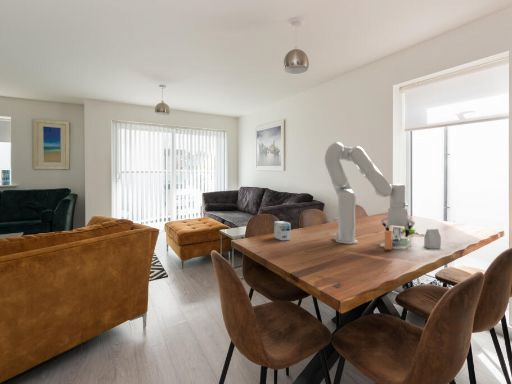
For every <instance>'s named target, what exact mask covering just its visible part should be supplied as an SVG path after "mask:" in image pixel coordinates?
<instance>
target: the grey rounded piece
mask: <svg viewBox="0 0 512 384" xmlns="http://www.w3.org/2000/svg"><path fill="white" fill-rule="evenodd" d="M401 228H402V227H401V226H393V227H392V231H393V241H397V242H398V240H399V241H401V238H402V236H401V232H402V229H401Z"/></svg>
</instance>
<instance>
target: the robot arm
mask: <svg viewBox="0 0 512 384" xmlns="http://www.w3.org/2000/svg"><path fill="white" fill-rule="evenodd" d="M341 160H343V161H346V162H351V163H353V164H354V166H355V167H356V168H357V169H358V171H359V172H360V174H361V175H362V176H363V177H364V178H365V179H366V180H368V181H369V182H370V184H371V185H372V187H373V188H374V192H375V194H376V196H379V197H382V198H387V197H389V207H388V211H387V215H386V217H385V218H383V219H381V220H380V222H381V224H382V226H383V227H384V228H385V231H390V226H393V227H403V228H406V230H405V237H404V238H408V236H409V229H411V228H413V227H414V225H415V224H416V223H415V221H413V220H411V219H409V216H408V210H407V209H408V208H407V207H409V204H408V203H406V186H405V184H403V183H393V184H390V183H389V182H388V180H387V179H386V177H385V176H384V175H383V174H382V173H381V171H380V169H378V167H377V166H376V165H375V164H374V162H373V161H372V160H371V158H370V157H369V156H368V154H367V153H366V151H365V150H364V149H363V148H362V147H361V146H354V147H348V146H346V145H345V146H344V144H343V143H341V142H338V141H337V142H336V141H335V142H333V143H332V144H330V146H328V148H327V149H326V151H325V155H324V163H325V166H326V169H327V171H328V174H329V177H330V179H331V184H332V186H333V188H334V190H335V193H336V195H337V197H338V198H337V199H338V200H337V201H338V203H337V204H338V205H337V206H338V207H337V208H338V210H337V211H338V212H337V213H338V214H337V215H338V220H337V224H338V225H337V226H338V229H337V230H338V231H337V233H332V234H331V236H332V237H333V238H335V242H336V243H339V244H351V245H352V244H358V242H359V241H358V239H356V204H357V203H356V201H357V200H356V194H355V192H354V190H353V189H352V187H351V186H352V185H351V184H350V182H349V180H348V175H346V172H345V170H344V168H343V165H342V163H341ZM385 221H386V223H385ZM408 222H409V225H410V226H409V227H408Z"/></svg>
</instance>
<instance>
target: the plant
mask: <svg viewBox="0 0 512 384" xmlns="http://www.w3.org/2000/svg"><path fill="white" fill-rule="evenodd" d="M410 225H411V224H410V223H409V222H408V227H409V226H410ZM400 228H401V237H402V238H406V237H405V230H406V228H405V227H400ZM416 231H418V228H415V229H414V228H413V227H412V228H411V229H409V236H408V237H409V238H414V237H416V238H419V237H420V238H422V237H424V236H425V234H420V233H418V232H416ZM408 237H407V238H408Z"/></svg>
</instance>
